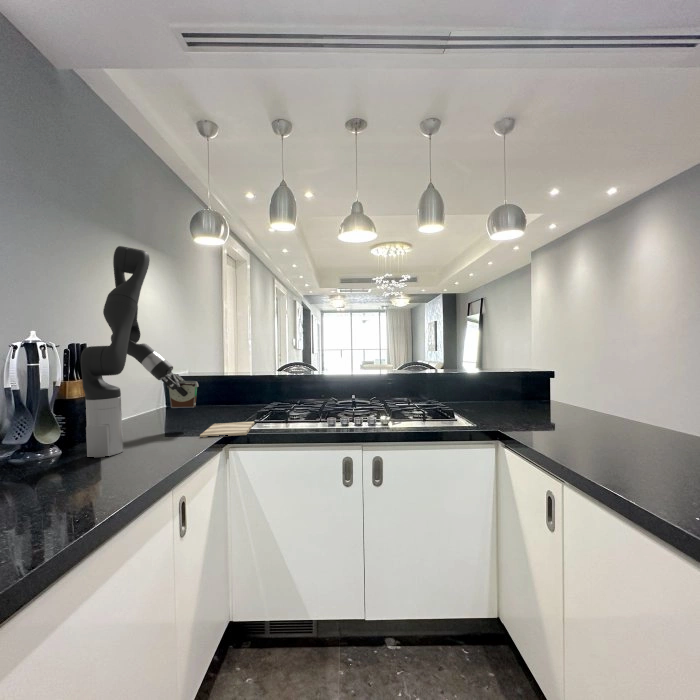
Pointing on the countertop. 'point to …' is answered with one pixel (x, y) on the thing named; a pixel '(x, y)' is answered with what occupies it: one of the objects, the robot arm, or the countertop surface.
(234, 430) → the birch board
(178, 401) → the food container
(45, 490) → the countertop surface
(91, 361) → the robot arm
